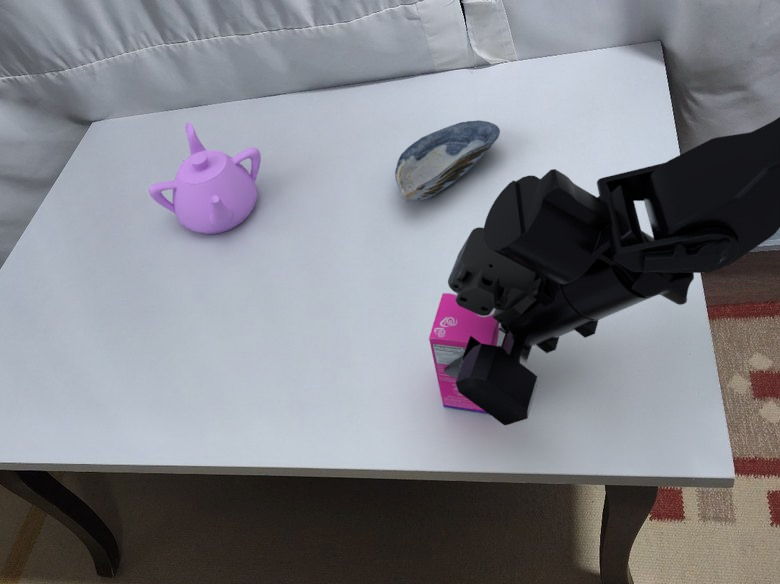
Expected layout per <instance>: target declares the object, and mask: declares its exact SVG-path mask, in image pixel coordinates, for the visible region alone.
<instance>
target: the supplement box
mask: <svg viewBox="0 0 780 584" xmlns="http://www.w3.org/2000/svg"><path fill="white" fill-rule="evenodd" d="M456 297H457V293H456V292H452V291H443V292H442V294H441V297H440V300H439V304H438V308H437V311H436V312H435V313H436V314H435V316H434V321H433V324H432V327H431V330H430V334H429V337H428V340H429V346H430V350H431V356H432V359H433V364H434V369H435V373H436V379H437V383H438V384H437V385H438V388H439V394H440V398H441V403H442V406H443V408H449V409H455V410H461V411H469V412H474V413H482V414H488V413H487V412H485V411H484V410H483V409H481V408H480V407H478V406H477V405H476V404H474V403H473V402H472V401H470V400H469V399H467V398H466V397H465V396H463V395H462V394H460V393H459V392H458V389H457V386H456V380H457V378H452V377H450V376H449V375H447V374H446V373H445V372H444V368H445V367H446V366H448V365H449V364H450V363H451V362H453V361H454V360H456V359H458V358H459V357H461V356H462V355H463V354H464V352H465V349H466V346H467V343H468V340H469V338H470V336H472V337H473V338H475V339H476V340H477V341H479V342H480V343H481V344H488V345H493V346H498V345H499V346H501V345H502V342H503V339H504V336H505V333H503V332H502V331H500V330H499V328H498V326H499V322H498V321H497V320H495V319H494V318H493V314H494V312H495V308H494V309H493V310H492V312H491V313H490V314H489V315H486V316H481V315H478V314H476V313H474V312H472V311H469V310H467V309H465V308H463V307H461V306H459V305H458V304H457V302H456V301H455V299H456ZM488 415H489V414H488Z"/></svg>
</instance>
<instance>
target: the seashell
mask: <svg viewBox="0 0 780 584" xmlns="http://www.w3.org/2000/svg"><path fill="white" fill-rule="evenodd" d="M500 134H501V129H500V127H499V126H498V125H497V124H495V123H492V122H490V121H487V120H468V121H461V122H458V123H454V124H452V125H450V126H446V127H443V128H440V129H439V130H436V131H433V132H431V133H429V134H426V135H424V136H422V137H420V138H419V139H418V140H416V141H414V142H412V144H411V145H409V146H408V147H407V148H406V149H405V150H404V151H403V152H402V153H401V154H400V156H399V158H398V160H397V162H396V168H395V170H394V171H395V172H394V176H395V177H394V178H395V182H396V185H397V188H398V191H399V194H400V196H401V198H402V199H403V200H404V201H406V202H410V203H413V202H414V203H415V202H419V201H424V200H427V199H429V198H431V197H434V196H436V195H437V194H439V192H442V191H443V190H444V189H446V188H448V187H449V186H451V185H452V184H454V183H455V182H456V181H458V179H460V178H461V177H462V176H464V175H465V174H466V173H467V172H468V171H470V169H472V168H473V167H474V166H475V165H476V164H477V162H478V161H479V160H480V159H481V158H482V157H484V156H485V155H486V153H487V152H488V151H489V150H490V149H491V147H492V146H493V145H494V144H495V142H496V141H497V140H498V139H499V137H500Z"/></svg>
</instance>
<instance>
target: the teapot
mask: <svg viewBox="0 0 780 584" xmlns="http://www.w3.org/2000/svg"><path fill="white" fill-rule="evenodd" d="M184 130H185V133H186V137H187V141H188V146H189V154H190V156H188V157H187V158H185V160H183V161H182V162H181V164H180V165H179V166H178V168H177V171H176V173H175V178H174V180H168V181H160V182H156V183H154V184H152V185H151V186H149V188H148V193H149V195H150V197H151V198H152V200H153V201H155V202H156V203H157V204H158V205H160V206H162V208H164V209H166V210H169V211H170V212H172V213H174V214H175V216H176V218H177V221H178V223H180V225H182V227H184V228H186V229H187V230H189V231H192V232H194V233H198V234H204V235H216V234H220V233H221V234H222V233H224V232H228V231H229V230H232V229H234V228H236V227H238V226H239V225H241V223H243V222H244V221H245V220H246V219H247V218H248V217H249V216H250V214H251V213H252V211H253V210H254V207H255V205H256V203H257V199H258V187H257V184H256V181H257V176H258V174H259V171H260V167H261V163H262V156H261V151H260V150H259V148H258V147H254V146H253V147H248V148H246V149H243V150H242V151H240V152H238V153H237V154H236V155H234V156H230V155H228V154H227V153H224V152H223V151H220V150H218V149H217V150H216V149H207V148H206V147H205V146H204V144H203V143H202V141H200V138H199V137H198V134H197V133H196V130H195V127H194V125H193V124H192V123H191V122H186V123H185V129H184ZM247 159H250V161H251V164H250V165H251V169H250V172H249V170H248V169H247V168H246V167H245V166H244V165H243V164H241V162H243V161H245V160H247ZM169 190H172V202H171V201H170V200H169V199H167V198H166V196H164V195H163V193H162V192H163V191H164V192H165V191H169Z"/></svg>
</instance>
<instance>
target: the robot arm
mask: <svg viewBox="0 0 780 584" xmlns="http://www.w3.org/2000/svg"><path fill="white" fill-rule="evenodd" d="M596 186H597V187H596V188H597V192H598V196H596V195H594V194H592V193H590V192H588V191H587V190H586V189H584V188H582V187H581V186H579V185H577V184H576V183H574V182H573V181H572V180H571V179H570V177H568V176H567V175H566V174H564V173H563V172H561V171H560V170H558V169H556V168H553V169H549V171H547V173H545V174H544V175H543V176H542V177H541V178H539V177H538V176H536V175H525V176H523V177H520V178H519V179H517V180H512V181H511V182H509V184H507V185H506V186H505V187H504V188H503V190H502V191H501V192H500V193H499V194H498V195H497V197H496V199H495V200H494V201H493V203H492V205H491V207H490V208H489V211H488V213H487V216H486V218H485V222H484V224H483V225H484V226H483V227H481V226H480V227H479V226H478V227H475V228H473V229H472V230H471V232H470V233H469V235H468V237H466V238H467V239H466V240H465V242H464V243H463V245H462V246H461V249H459V250H460V251H459V252H458V254H457V256H456V259H455V261H454V264H453V267H452V269H451V272H450V274H449V276H448V279H447V285H448V288H449V289H450V290H451V291H453V293H457V297H456V299H455V301H456V302H457V304H458V305H459V306H461V307H463V308H465V309H467V310H469V311H472V312H474V313H476V314H478V315H481V316H486V315H489V314H490V313H491V312H492V310H493V309H494V308H495V312H494V314H493V318H494V319H495V320H497V321H498V322H499V326H498V328H499V330H500V331H502V332H503V333H505V336H504V339H503V342H502V345H501V346H499V345H498V346H493V345H488V344H481V343H480V342H479V341H477V340H476V339H475V338H473V337H472V336H470V338H469V340H468V343H467V346H466V349H465V352H464V354H463V355H462V356H461V357H459V358H458V359H456V360H454V361H453V362H451V363H450V364H449V365H448V366H446V367H445V368H444V372H445V373H446V374H447V375H449V376H450V377H452V378H457V380H456V386H457V389H458V392H459V393H460V394H462V395H463V396H465V397H466V398H467V399H469V400H470V401H472V402H473V403H474V404H476V405H477V406H478V407H480V408H481V409H483V410H484V411H485V412H487V413H488V415H490V416H491V417H492V418H494V419H495V420H497V422H499V423H501V424H502V425H503V426H508V425H512V424H515V423H519V422H521V421H525V420H528V418H529V416H530V411H531V408H532V404H533V401H534V398H535V395H536V391H537V389H538V375H537V374H535V373H534V372H533V371H532V369H531V365H530V363H529V362H528V361H529V358H530V354H531V351H532V347H533V346H536V347H537V348H539V349H541V350H542V351H543V352H544V353H546V354H549V353H551V352H554V351H556V350H557V347H558V343H559V339H560V337H562V336H565V335H567V334H570V333H571V332H574V331H575V332H576V333H578V334H579V335H580V336H582V337H583V338H584V339H586V338H589V337H591V336H593V335H596V331H597V327H598V324H599V320H602V319H604V318H607V317H609V316H611V315H614V314H616V313H619V312H621V311H623V310H625V309H627V308H630V307H633V306H634V305H637V304H639V303H643V302H644V301H647V300H649V299H651V298H654V297H656V296H661V297H663V298H664V299H667V300H669V301H670V302H672V303H674V304H676V305H678V306H683V305H685V304H686V303H687V302H688V292H689V289H690V285H691V283H692V282H693V281H694V279H695V274H701V273H702V274H708V273H713V272H716V271H719V270H721V269H724V268H726V267H728V266H730V265H732V264H733V263H735V262H737V261H738V260H739V259H741V258H742V257H744V256H745V255H747V254H748V253H750V252H751V251H753V250H755V248H757V247H758V246H760V245H761V244H763V243H765V242H766V241H767V240H769V239H770V238H771V237H773V236H774V235H776V234H777V232H778V231H779V230H780V116H778V117H777V118H776V119H774V120H772V121H771V122H769V123H767V124H765V125H763V126H761V127H759V128H757V129H755V130H753V131H749V132H742V133H735V134H729V135H723V136H717V137H713V138H710V139H709V140H707V141H705V142H703V143H701V144H699V145H697V146H695V147H693V148H691V149H689V150H687V151H684V152H683V153H681V154H679V155H677V156H675V157H672V158H671V159H669V160H668V161H666V162H662V163H659V164H658V163H657V164H654V165H649V166H646V167H642V168H638V169H633V170H629V171H625V172H621V173H617V174H612V175H609V176H604V177H601V178H599V179H598V180H597V181H596ZM635 202H643V203H644V207H645V210H646V214H647V218H648V222H649V226H650V229H651V233H652V235H650V234H649V233H646V232H645V231H643V230H642V228H641V224H640V221H639V220H640V219H639V216H638V212H637V208H636V205H635ZM487 413H486V414H487Z"/></svg>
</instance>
